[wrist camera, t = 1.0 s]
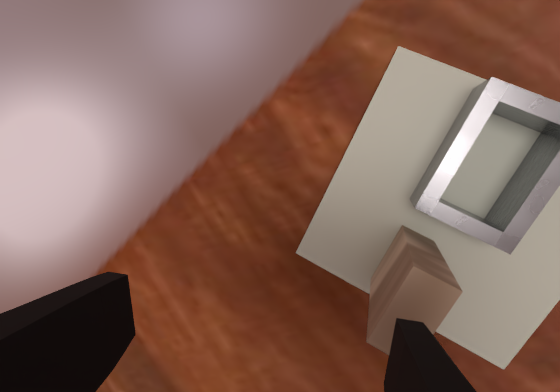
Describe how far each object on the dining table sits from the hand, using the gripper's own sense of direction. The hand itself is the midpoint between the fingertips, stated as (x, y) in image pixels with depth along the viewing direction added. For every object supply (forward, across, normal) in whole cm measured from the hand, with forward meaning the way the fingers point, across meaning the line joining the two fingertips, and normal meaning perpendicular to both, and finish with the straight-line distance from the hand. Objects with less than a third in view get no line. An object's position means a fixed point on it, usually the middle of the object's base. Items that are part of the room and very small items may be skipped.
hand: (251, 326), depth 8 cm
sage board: (+13, -9, +1) cm, 16 cm away
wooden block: (+12, -6, +4) cm, 14 cm away
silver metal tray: (+14, -10, -2) cm, 17 cm away
